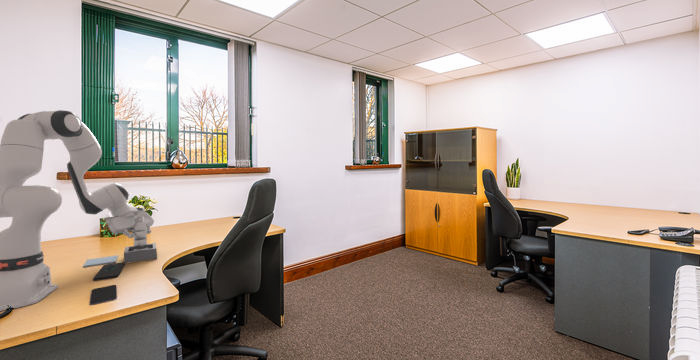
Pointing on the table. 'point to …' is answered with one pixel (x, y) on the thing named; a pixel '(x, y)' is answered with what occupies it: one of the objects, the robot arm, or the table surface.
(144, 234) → the plastic bottle
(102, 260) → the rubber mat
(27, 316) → the table surface
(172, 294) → the table surface
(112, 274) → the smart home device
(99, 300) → the smartphone
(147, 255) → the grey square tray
